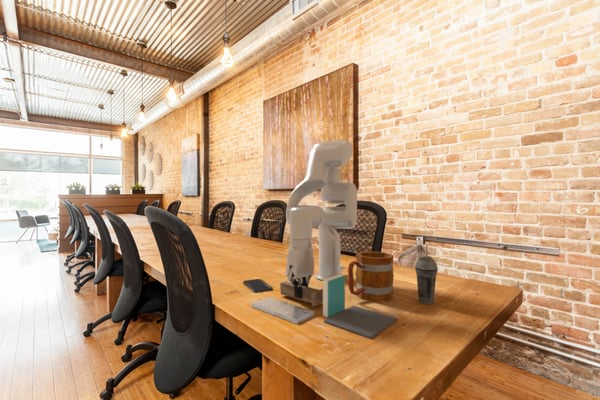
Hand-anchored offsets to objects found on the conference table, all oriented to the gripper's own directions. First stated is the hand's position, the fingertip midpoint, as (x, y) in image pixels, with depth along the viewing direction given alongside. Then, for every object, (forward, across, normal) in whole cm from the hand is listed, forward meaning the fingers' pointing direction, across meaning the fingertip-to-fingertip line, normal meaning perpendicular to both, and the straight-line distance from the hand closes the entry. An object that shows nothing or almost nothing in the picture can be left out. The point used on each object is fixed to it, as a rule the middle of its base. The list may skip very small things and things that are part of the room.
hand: (301, 296), depth 103 cm
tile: (+2, +1, +14) cm, 14 cm away
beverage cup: (+2, -28, +32) cm, 43 cm away
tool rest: (+2, +11, +1) cm, 11 cm away
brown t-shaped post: (+1, 0, 0) cm, 1 cm away
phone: (+3, -1, -25) cm, 25 cm away
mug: (+2, -19, +15) cm, 25 cm away
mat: (+2, +1, +24) cm, 24 cm away
